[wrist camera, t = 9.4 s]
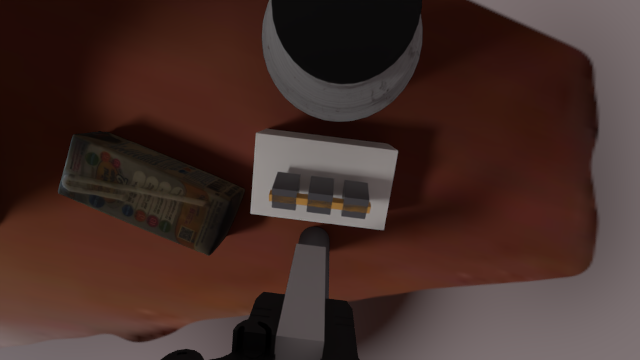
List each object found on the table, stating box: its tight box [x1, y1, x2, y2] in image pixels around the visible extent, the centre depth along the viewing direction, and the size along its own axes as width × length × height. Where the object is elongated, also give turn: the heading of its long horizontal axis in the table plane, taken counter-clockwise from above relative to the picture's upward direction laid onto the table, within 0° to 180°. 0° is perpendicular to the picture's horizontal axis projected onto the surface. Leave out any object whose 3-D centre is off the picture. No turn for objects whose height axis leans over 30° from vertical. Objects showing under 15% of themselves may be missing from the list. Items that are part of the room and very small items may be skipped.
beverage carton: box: [58, 131, 245, 256], centre depth 38 cm, size 8×19×7 cm, turn 66°
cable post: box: [298, 227, 329, 299], centre depth 31 cm, size 4×4×22 cm
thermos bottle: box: [262, 0, 422, 122], centre depth 24 cm, size 8×8×28 cm
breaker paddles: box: [269, 172, 371, 219], centre depth 32 cm, size 10×2×3 cm, turn 83°
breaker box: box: [250, 129, 398, 230], centre depth 37 cm, size 15×9×6 cm, turn 83°
